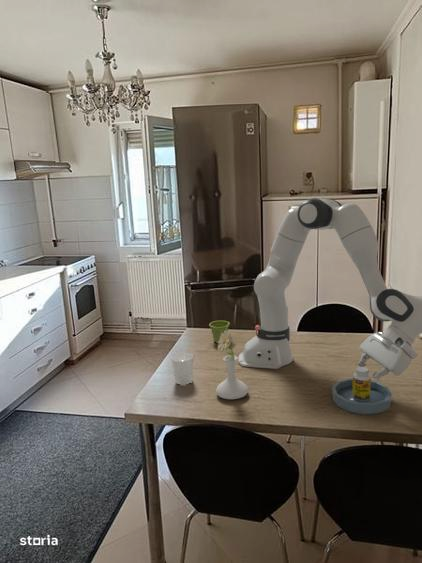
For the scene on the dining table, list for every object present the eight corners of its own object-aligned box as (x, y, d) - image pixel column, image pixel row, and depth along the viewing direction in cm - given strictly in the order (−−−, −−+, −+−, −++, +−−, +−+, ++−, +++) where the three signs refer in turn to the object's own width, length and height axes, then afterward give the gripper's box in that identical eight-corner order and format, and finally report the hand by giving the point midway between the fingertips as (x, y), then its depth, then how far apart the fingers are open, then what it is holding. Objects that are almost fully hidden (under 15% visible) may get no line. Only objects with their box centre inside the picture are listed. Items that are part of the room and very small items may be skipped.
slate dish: (337, 414, 136) (337, 404, 136) (329, 387, 154) (329, 378, 153) (397, 414, 134) (398, 404, 133) (381, 387, 152) (382, 378, 151)
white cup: (185, 375, 171) (183, 351, 168) (198, 381, 165) (197, 356, 163) (169, 382, 165) (167, 357, 163) (183, 388, 160) (181, 363, 157)
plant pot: (223, 346, 198) (222, 328, 196) (206, 343, 203) (205, 325, 201) (234, 339, 206) (233, 322, 204) (217, 336, 211) (216, 319, 209)
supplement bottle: (352, 400, 142) (353, 372, 140) (352, 392, 147) (353, 364, 145) (370, 402, 140) (371, 373, 138) (369, 394, 145) (370, 366, 143)
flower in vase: (216, 387, 159) (212, 322, 153) (247, 386, 158) (244, 321, 153) (215, 405, 146) (211, 335, 140) (249, 404, 146) (246, 334, 140)
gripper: (372, 324, 151) (345, 354, 151) (408, 345, 131) (378, 379, 132) (383, 335, 152) (357, 364, 153) (421, 357, 133) (390, 391, 133)
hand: (367, 371), depth 142 cm, fingers open, 8 cm apart
